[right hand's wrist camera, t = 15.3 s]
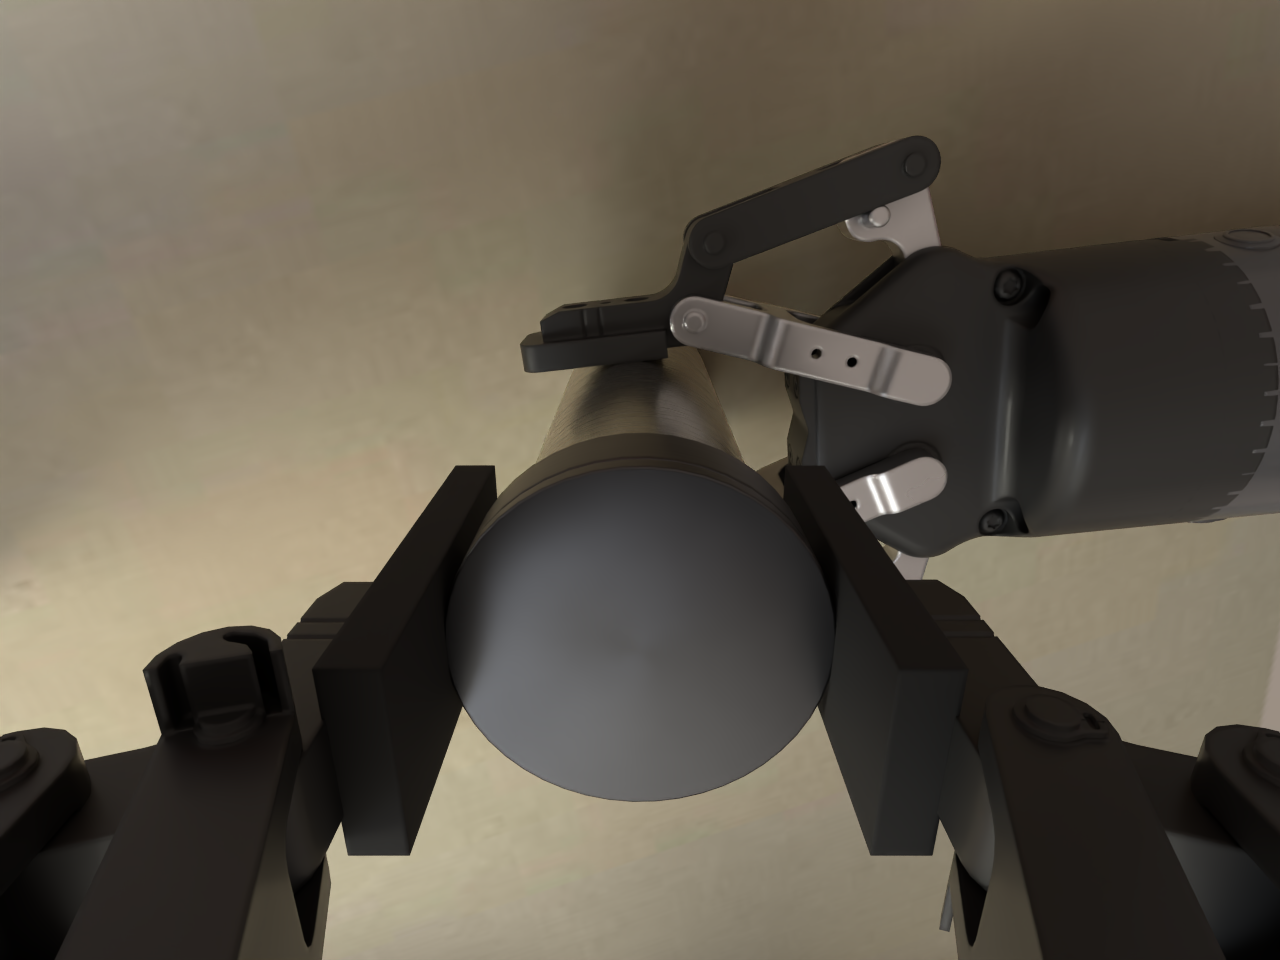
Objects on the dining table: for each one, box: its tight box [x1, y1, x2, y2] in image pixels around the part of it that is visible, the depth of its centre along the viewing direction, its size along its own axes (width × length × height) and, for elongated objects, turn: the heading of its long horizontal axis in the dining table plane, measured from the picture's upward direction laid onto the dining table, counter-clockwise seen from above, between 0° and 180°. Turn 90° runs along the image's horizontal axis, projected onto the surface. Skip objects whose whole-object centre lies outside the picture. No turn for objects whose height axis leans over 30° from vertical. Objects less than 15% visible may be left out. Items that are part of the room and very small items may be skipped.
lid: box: [444, 433, 836, 802], centre depth 11 cm, size 6×6×2 cm
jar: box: [536, 346, 745, 464], centre depth 18 cm, size 5×5×16 cm
